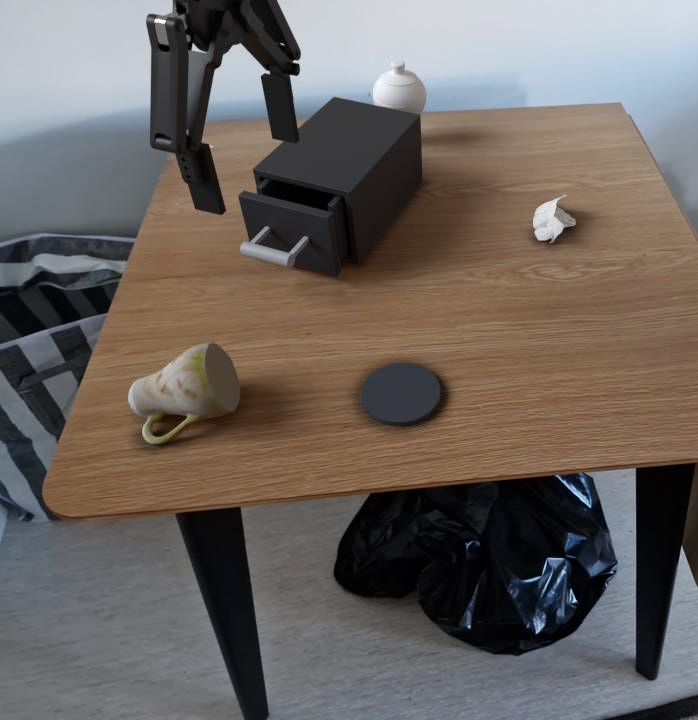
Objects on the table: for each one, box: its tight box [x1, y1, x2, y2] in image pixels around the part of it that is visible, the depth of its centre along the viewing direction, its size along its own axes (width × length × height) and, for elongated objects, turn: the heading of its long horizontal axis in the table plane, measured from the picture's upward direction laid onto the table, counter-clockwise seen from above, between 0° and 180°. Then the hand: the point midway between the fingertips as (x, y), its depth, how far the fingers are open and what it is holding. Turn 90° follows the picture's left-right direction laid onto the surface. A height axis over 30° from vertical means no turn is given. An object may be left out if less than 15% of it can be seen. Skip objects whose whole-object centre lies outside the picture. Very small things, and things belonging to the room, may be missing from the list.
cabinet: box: [252, 96, 424, 264], centre depth 92 cm, size 20×13×10 cm, turn 160°
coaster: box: [360, 362, 442, 427], centre depth 73 cm, size 8×8×1 cm
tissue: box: [532, 194, 577, 244], centre depth 93 cm, size 6×8×4 cm
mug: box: [127, 342, 241, 445], centre depth 69 cm, size 8×10×10 cm
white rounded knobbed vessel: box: [372, 59, 428, 116], centre depth 104 cm, size 8×8×12 cm
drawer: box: [237, 178, 351, 278], centre depth 87 cm, size 24×11×8 cm, turn 160°
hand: (250, 172), depth 69 cm, fingers open, 13 cm apart
